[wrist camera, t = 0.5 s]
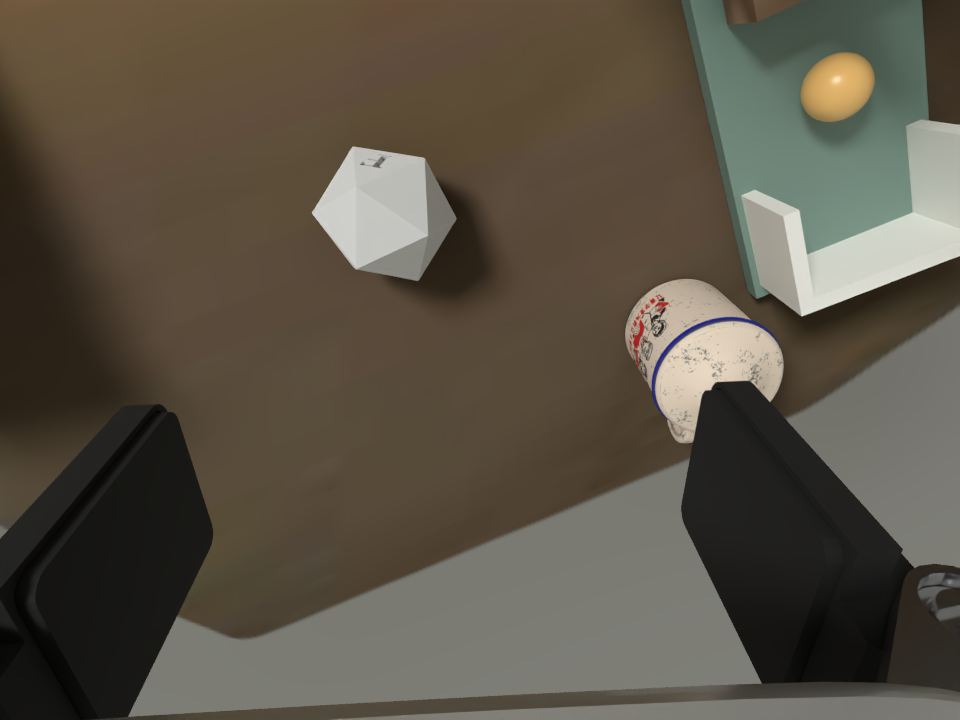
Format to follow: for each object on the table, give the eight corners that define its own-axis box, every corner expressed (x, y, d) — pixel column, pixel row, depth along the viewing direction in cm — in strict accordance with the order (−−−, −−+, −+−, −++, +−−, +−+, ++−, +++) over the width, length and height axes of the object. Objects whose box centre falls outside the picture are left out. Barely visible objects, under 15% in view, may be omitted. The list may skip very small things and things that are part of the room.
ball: (783, 68, 38) (817, 70, 34) (845, 40, 37) (887, 39, 34) (793, 128, 40) (826, 136, 36) (852, 103, 39) (892, 108, 35)
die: (476, 192, 43) (438, 127, 34) (446, 304, 42) (400, 270, 33) (376, 175, 45) (314, 109, 36) (347, 282, 44) (277, 244, 35)
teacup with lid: (631, 272, 46) (682, 336, 35) (743, 276, 46) (826, 340, 36) (607, 402, 51) (647, 490, 41) (708, 404, 52) (771, 491, 41)
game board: (676, -20, 37) (726, -36, 30) (896, -128, 34) (1001, -170, 28) (748, 291, 47) (796, 331, 40) (920, 223, 45) (1002, 253, 38)
